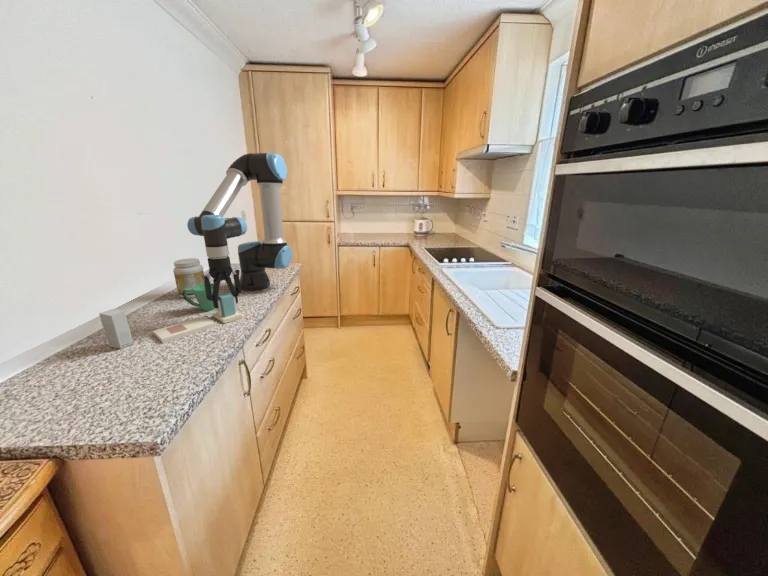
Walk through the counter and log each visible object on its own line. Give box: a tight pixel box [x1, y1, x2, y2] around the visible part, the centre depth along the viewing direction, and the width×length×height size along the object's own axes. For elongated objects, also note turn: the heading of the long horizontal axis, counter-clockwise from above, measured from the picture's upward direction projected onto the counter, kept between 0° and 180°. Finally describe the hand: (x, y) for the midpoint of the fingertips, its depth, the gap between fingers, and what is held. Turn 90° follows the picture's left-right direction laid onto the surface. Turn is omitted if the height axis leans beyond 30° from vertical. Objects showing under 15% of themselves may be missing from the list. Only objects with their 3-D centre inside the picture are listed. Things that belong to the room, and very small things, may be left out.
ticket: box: [152, 315, 218, 344], centre depth 116 cm, size 18×10×2 cm, turn 139°
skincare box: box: [99, 308, 134, 350], centre depth 104 cm, size 6×4×12 cm
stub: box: [212, 292, 243, 324], centre depth 126 cm, size 7×10×10 cm
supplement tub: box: [172, 257, 205, 299], centre depth 150 cm, size 12×12×17 cm
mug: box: [182, 283, 217, 312], centre depth 134 cm, size 15×10×10 cm
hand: (227, 313), depth 127 cm, fingers open, 5 cm apart
